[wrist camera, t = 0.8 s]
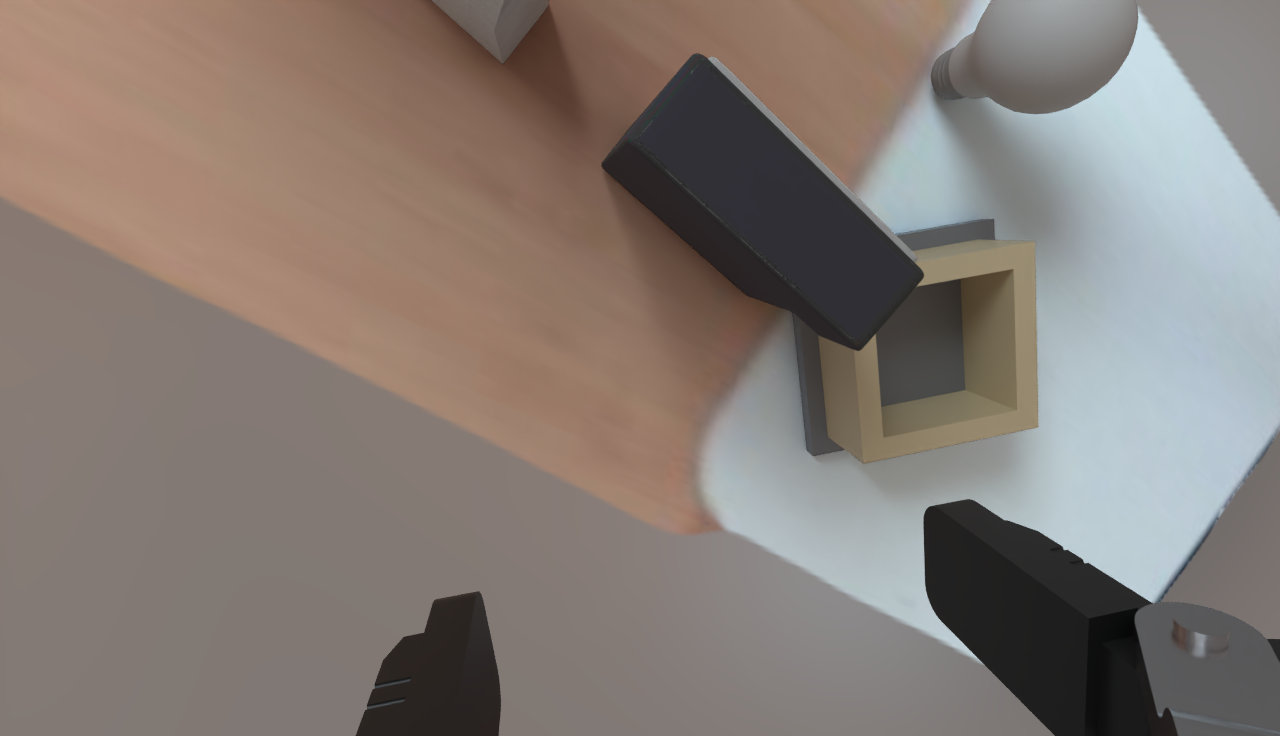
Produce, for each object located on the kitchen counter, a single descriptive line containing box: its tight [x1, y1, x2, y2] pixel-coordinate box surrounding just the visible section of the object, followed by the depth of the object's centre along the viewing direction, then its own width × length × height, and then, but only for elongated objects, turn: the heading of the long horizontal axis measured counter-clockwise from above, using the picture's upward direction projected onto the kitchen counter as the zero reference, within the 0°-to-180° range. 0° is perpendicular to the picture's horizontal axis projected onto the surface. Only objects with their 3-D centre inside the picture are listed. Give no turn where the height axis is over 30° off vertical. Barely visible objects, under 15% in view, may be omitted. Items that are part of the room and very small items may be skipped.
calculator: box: [602, 54, 924, 351], centre depth 29 cm, size 11×4×15 cm, turn 50°
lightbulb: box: [931, 0, 1138, 114], centre depth 31 cm, size 6×6×11 cm
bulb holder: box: [793, 219, 1038, 464], centre depth 37 cm, size 12×12×6 cm
